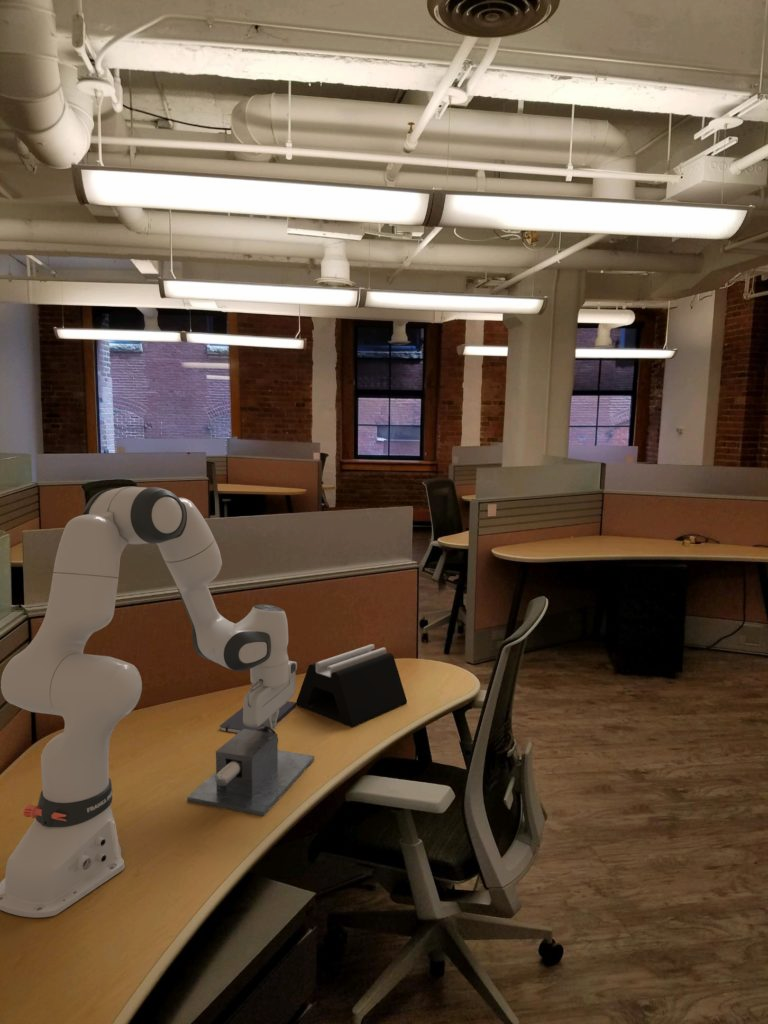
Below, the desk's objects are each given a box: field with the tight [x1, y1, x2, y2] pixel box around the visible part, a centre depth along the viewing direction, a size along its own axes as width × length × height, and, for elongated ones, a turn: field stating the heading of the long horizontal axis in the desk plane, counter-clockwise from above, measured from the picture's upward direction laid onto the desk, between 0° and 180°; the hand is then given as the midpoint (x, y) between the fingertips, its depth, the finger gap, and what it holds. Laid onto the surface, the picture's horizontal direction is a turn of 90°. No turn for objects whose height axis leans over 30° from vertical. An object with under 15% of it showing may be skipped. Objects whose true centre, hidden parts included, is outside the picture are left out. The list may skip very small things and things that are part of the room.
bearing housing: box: [186, 729, 315, 817], centre depth 159 cm, size 26×18×10 cm
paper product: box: [219, 700, 297, 734], centre depth 194 cm, size 13×2×21 cm
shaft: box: [215, 726, 279, 786], centre depth 155 cm, size 20×6×6 cm, turn 162°
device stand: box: [296, 643, 408, 728], centre depth 203 cm, size 22×22×15 cm
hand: (270, 729), depth 166 cm, fingers closed
